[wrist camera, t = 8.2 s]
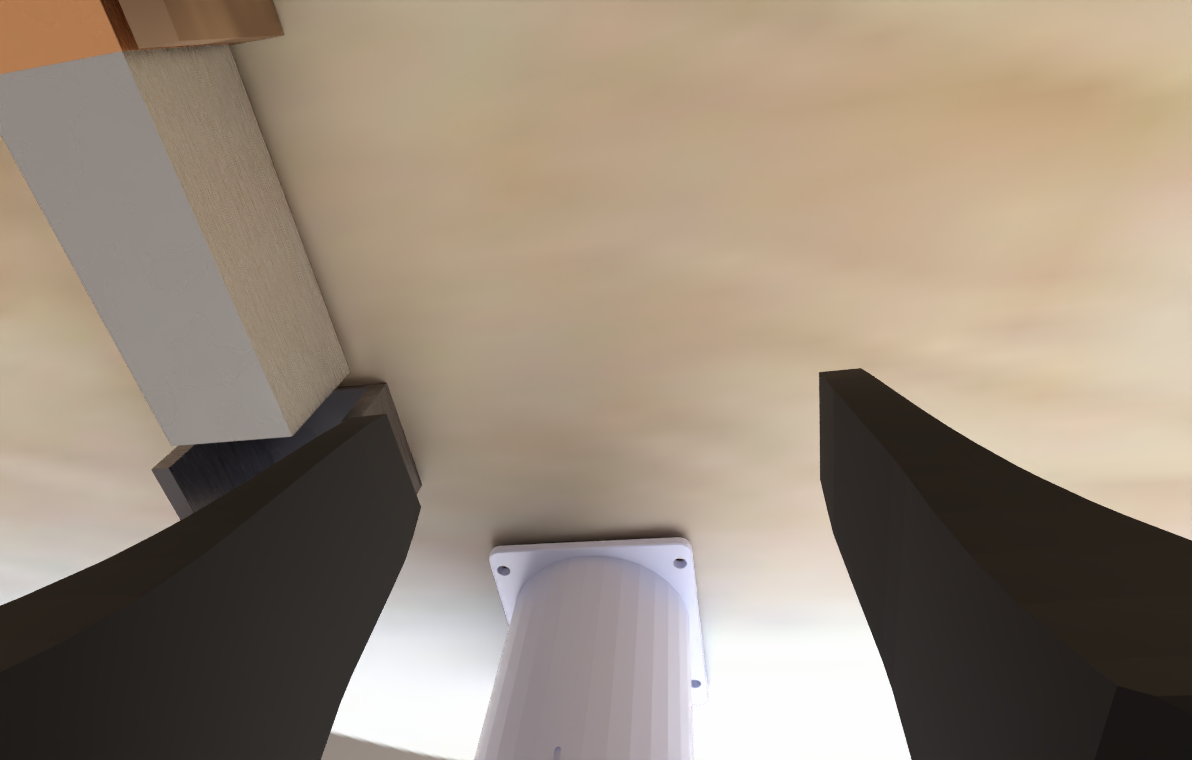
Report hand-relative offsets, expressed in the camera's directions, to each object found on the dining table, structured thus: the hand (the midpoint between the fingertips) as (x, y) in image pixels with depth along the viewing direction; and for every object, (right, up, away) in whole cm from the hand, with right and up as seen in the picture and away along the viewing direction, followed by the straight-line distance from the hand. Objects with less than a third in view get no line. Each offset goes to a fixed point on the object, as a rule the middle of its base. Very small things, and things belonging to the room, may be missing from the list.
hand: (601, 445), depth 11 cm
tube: (-11, +7, +10) cm, 16 cm away
